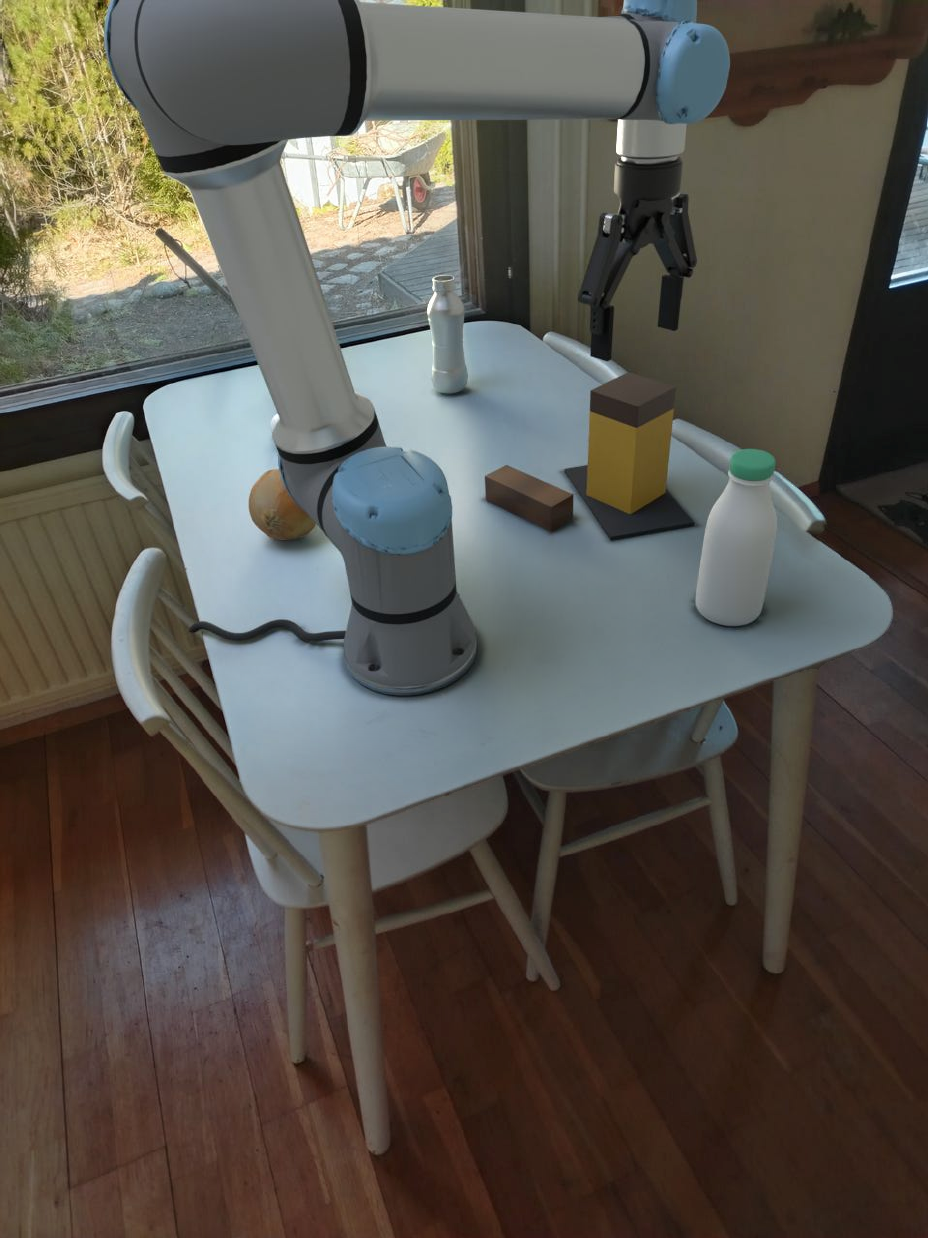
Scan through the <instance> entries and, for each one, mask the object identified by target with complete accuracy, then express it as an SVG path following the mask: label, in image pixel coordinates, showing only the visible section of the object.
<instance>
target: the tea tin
mask: <svg viewBox="0 0 928 1238" xmlns="http://www.w3.org/2000/svg"><path fill="white" fill-rule="evenodd" d="M589 391H590V393H589V395H590V396H589V398H590V399H589V419H588V421H589V422H588V443H587V444H588V447H587V451H588V452H587V465H588V469H587V496H590V497H592V498H594V499H596V500H599V501H601V502H603V503H605V504H608V505H610V506H612V507H615V508H617V509H619V510H621V511H624V512H626V513H628V514H632V513H634V512H635V511H637V510H638V509H640V508H642V507H643V506H645V505H646V504H648V503H650V502H651V501H653V500H655V499H656V498H658V497H659V496H661V495H663V494H664V493H665V492H666V490H667V480H668V471H669V461H670V453H671V443H672V442H671V441H672V434H673V424H674V423H673V422H674V413H675V404H676V403H675V402H676V393H677V387H676V386H673V385H671V384H667V383H664V382H661V381H658V380H656V379H652V378H649V377H645V376H642V375H640V374H636V373H634V372H633V373H632V372H630V371H629V372H625V373H624V374H622V375H619V376H617V377H615V378H613V379H611V380H609V381H607V382H605V383H603V384H601V385H598V386H597V387H595V388H592V389H591V390H589Z"/></svg>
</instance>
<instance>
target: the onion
mask: <svg viewBox="0 0 928 1238" xmlns="http://www.w3.org/2000/svg"><path fill="white" fill-rule="evenodd" d="M248 512H249V515H250V518H251V521H252V523H253V524H254V525H255V526H256V527H257V528H258V529H259V530H260V531H261V532H262V533H263V534H265V535H266V536H267V537H269V538H271V539H274V540H277V541H292V540H296V539H301V538H302V537H304V536H307V535H308V534H310V533H311V532H312V531H313V529H315V527H316V526H317V524H316V523H315V522H314V521H313V520H312V519H311V518H310V516H309V515H308V514H307V513H306V512H305V511H304V510H303V509H301V508H300V507H299V506H298V505H297V504H296V503H295V502H294V501H293V499H292V498H291V497H290V495H289V494H288V492H287V490H286V488H285V486H284V484H283V481H282V478H281V476H280V472H279V468H273V469H269V470H267V471H265V472H264V473H263V474H262V475H261V476H260V477H259V478H258V479H257V480H256V481H255V483H254V484H253V486H252V487H251V489H250V492H249V496H248Z"/></svg>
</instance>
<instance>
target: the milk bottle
mask: <svg viewBox="0 0 928 1238" xmlns="http://www.w3.org/2000/svg"><path fill="white" fill-rule="evenodd" d="M728 465H729V466H728V470H727V471H728V472H727V476H728V477H729V480H728V482H727V484H726V486H725V488H724V490H723V492H722V493H721V495H720V496H719V497H718V499H717V500H716V502H715V503H714V504H713V506H712V508H711V510H710V512H709V514H708V517H707V521H706V525H705V530H704V535H703V541H702V548H701V555H700V564H699V567H698V568H699V569H698V574H697V575H698V576H697V583H696V592H695V600H694V603H695V607H696V609H697V611H698V613H699V614H700V615H701V616H702V617H703V618H705V620H708V621H709V622H712V623H713V624H714V623H715V624H717V625H721V626H727V627H739V626H745V625H748V624H750V623H752V622H754V621H755V620H756V619H757V618H758V617H759V616H760V615H761V613H762V610H763V606H764V602H765V598H766V593H767V588H768V583H769V577H770V572H771V568H772V562H773V556H774V552H775V546H776V541H777V540H776V539H777V532H778V516H777V512H776V509H775V505H774V502H773V500H772V496H771V490H770V483H771V482H772V480H773V479H774V473H775V469H776V458H775V457H774V455H772V454H771V453H770V452H768V451H765V450H762V449H756V448H743V449H739V450H736V451H735V452H733V453H732V455H731V456H730V457H729V463H728Z"/></svg>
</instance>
